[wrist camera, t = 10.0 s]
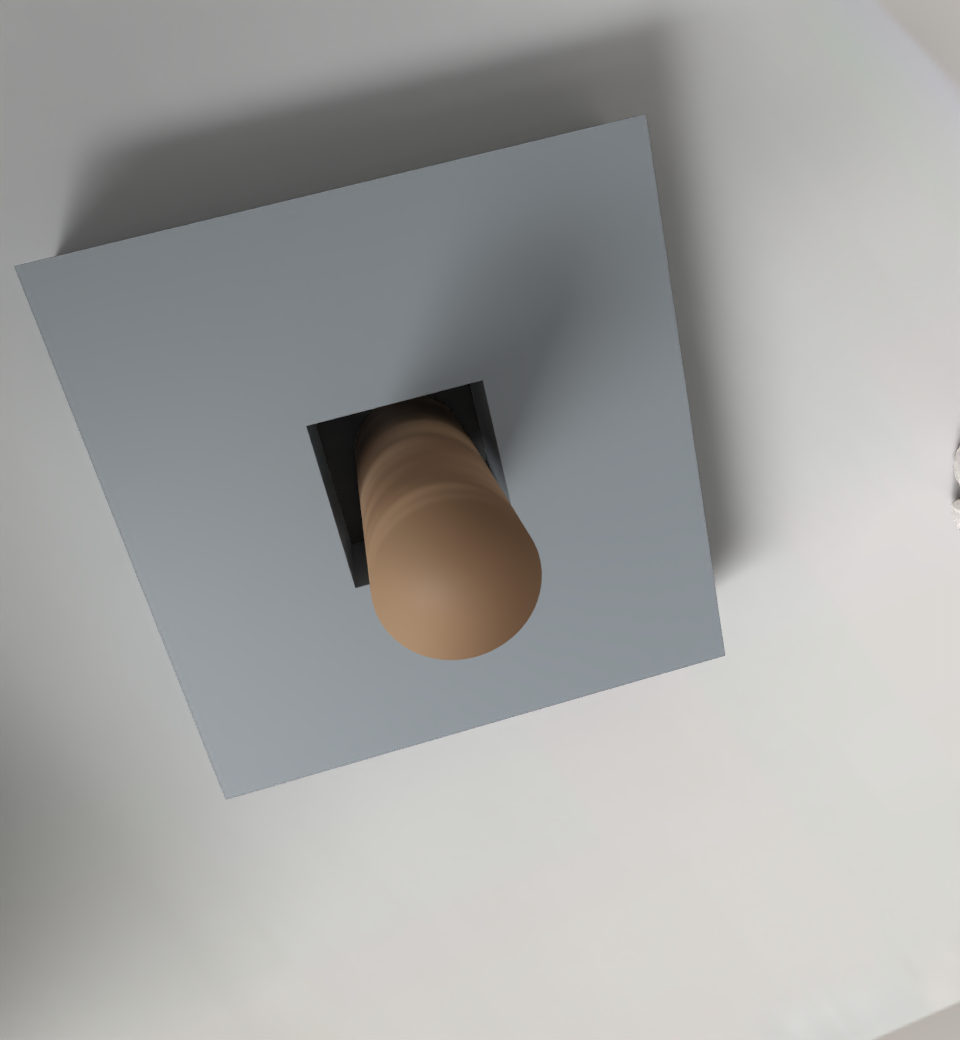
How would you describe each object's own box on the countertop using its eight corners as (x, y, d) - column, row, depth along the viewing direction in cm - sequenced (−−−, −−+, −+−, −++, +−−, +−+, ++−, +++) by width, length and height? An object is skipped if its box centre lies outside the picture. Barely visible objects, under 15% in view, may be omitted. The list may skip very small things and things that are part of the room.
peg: (369, 516, 33) (393, 678, 22) (341, 409, 32) (350, 524, 20) (477, 489, 33) (555, 636, 22) (454, 383, 32) (525, 481, 21)
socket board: (236, 735, 35) (225, 799, 31) (54, 257, 29) (14, 266, 25) (683, 608, 36) (725, 655, 32) (605, 125, 30) (646, 114, 26)
